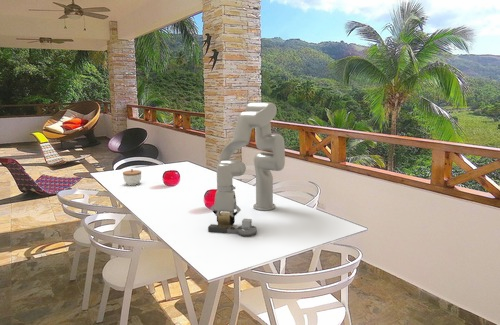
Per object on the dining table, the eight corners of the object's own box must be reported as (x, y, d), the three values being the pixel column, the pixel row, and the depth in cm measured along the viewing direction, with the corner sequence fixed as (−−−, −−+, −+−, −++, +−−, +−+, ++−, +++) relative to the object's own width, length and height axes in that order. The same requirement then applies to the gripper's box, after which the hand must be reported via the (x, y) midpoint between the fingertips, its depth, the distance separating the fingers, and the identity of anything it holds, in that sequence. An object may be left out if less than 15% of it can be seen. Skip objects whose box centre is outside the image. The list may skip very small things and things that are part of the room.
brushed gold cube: (222, 223, 201) (221, 211, 200) (233, 224, 199) (233, 212, 198) (218, 227, 195) (217, 215, 194) (229, 228, 194) (229, 216, 193)
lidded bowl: (120, 185, 286) (118, 169, 284) (134, 181, 296) (133, 167, 294) (131, 187, 279) (130, 171, 277) (145, 183, 289) (144, 168, 287)
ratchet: (212, 227, 195) (212, 214, 194) (258, 230, 190) (258, 217, 188) (206, 233, 187) (205, 220, 186) (254, 237, 181) (253, 223, 180)
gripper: (244, 187, 195) (244, 222, 199) (210, 185, 200) (211, 220, 203) (239, 191, 188) (240, 227, 191) (205, 189, 193) (206, 225, 196)
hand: (225, 223), depth 197 cm, fingers closed on brushed gold cube, 6 cm apart
